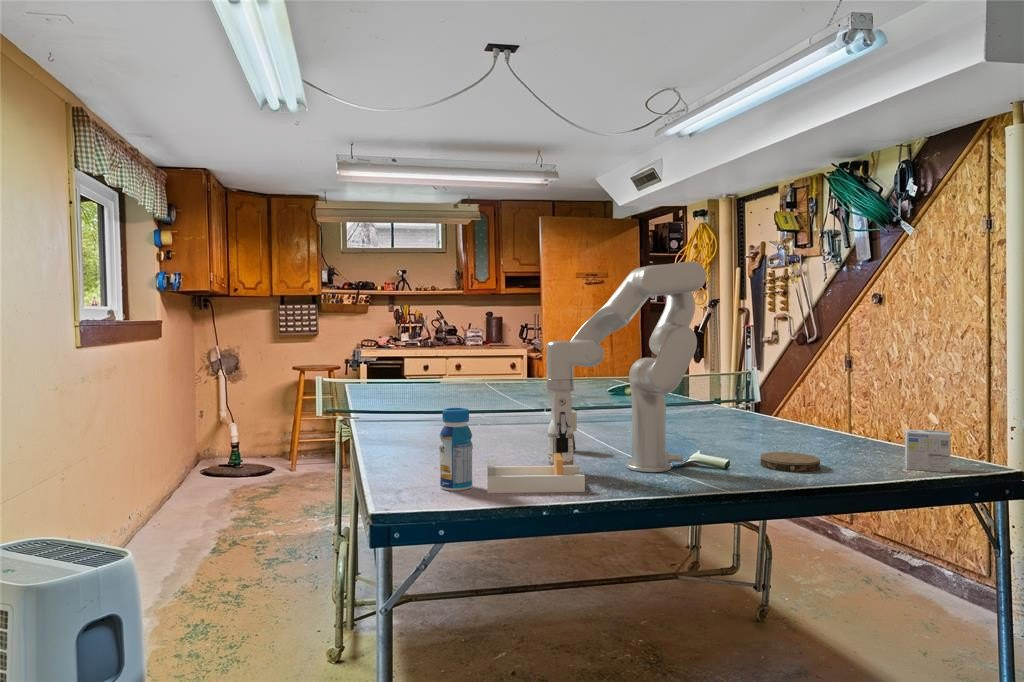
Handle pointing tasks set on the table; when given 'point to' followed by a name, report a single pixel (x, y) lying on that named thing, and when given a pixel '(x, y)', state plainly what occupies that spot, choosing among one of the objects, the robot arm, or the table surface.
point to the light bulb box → (927, 450)
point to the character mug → (574, 425)
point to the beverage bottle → (455, 450)
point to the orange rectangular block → (558, 464)
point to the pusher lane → (533, 479)
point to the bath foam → (552, 445)
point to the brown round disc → (790, 462)
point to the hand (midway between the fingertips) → (560, 449)
